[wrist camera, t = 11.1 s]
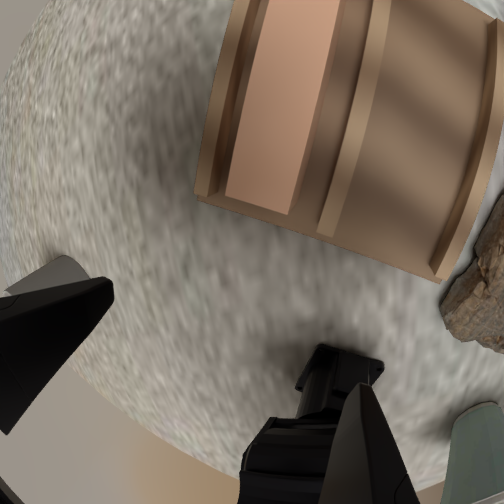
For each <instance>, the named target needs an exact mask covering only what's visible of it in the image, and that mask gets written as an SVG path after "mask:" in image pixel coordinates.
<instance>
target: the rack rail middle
mask: <svg viewBox="0 0 504 504" xmlns="http://www.w3.org/2000/svg"><path fill="white" fill-rule="evenodd" d="M390 7H391V0H373V6H372V13H371V18H370V24H369V30H368V35H367V40H366V45H365V50H364V55H363V60H362V65H361V69H360V74H359V78H358V83H357V87H356V91H355V96H354V100H353V104H352V108H351V112H350V116H349V120H348V124H347V128H346V132H345V136H344V139H343V143H342V147H341V150H340V154H339V158H338V161H337V165H336V168H335V172H334V175H333V179H332V182H331V186H330V189H329V192H328V196H327V199H326V202H325V205H324V209H323V212H322V215H321V218H320V221H319V224H318V228H317V231H316V232H317V233H320V234H323V235H326V236H329V237H333V235H334V232H335V229H336V226H337V223H338V220H339V217H340V214H341V211H342V208H343V205H344V202H345V199H346V196H347V192H348V189H349V186H350V183H351V179H352V176H353V173H354V169H355V166H356V163H357V159H358V156H359V152H360V149H361V145H362V141H363V138H364V134H365V130H366V126H367V122H368V119H369V115H370V111H371V106H372V102H373V98H374V94H375V89H376V85H377V80H378V76H379V71H380V66H381V61H382V56H383V51H384V45H385V39H386V34H387V28H388V21H389V14H390Z"/></svg>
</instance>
